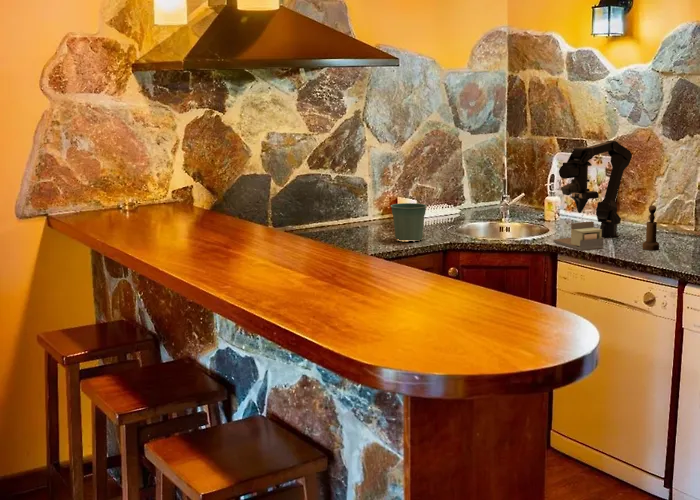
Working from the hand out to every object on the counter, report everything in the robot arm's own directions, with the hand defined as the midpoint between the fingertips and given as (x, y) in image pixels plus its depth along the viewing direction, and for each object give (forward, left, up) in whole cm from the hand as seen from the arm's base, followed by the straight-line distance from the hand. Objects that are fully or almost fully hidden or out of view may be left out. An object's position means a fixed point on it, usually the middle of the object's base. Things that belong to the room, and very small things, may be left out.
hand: (579, 212), depth 354 cm
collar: (+5, +13, -11) cm, 18 cm away
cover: (+6, +13, -11) cm, 18 cm away
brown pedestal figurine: (-16, +27, -13) cm, 34 cm away
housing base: (+5, +7, -12) cm, 15 cm away
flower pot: (+65, -36, -13) cm, 75 cm away
